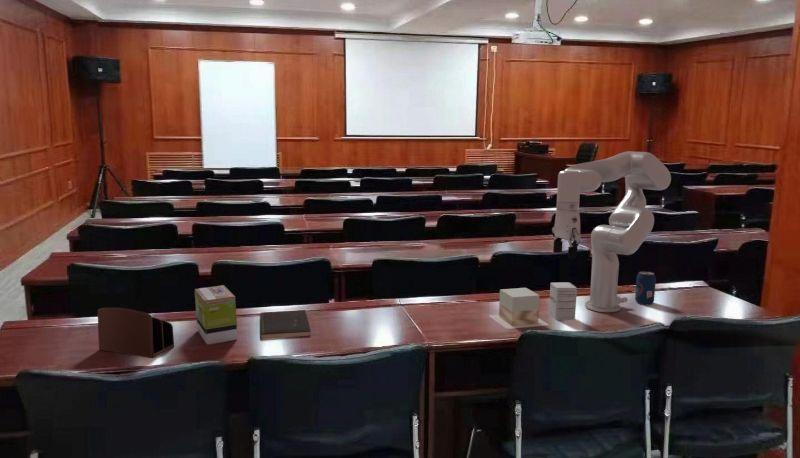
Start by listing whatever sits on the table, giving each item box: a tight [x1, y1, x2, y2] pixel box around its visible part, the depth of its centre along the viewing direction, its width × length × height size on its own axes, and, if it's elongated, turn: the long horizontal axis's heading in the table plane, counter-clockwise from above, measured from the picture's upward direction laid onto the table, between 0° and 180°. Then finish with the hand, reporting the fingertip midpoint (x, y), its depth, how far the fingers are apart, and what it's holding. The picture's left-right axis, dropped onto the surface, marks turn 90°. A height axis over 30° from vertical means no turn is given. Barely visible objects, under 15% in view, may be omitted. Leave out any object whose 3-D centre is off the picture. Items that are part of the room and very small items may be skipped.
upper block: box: [499, 287, 540, 312], centre depth 214 cm, size 10×10×5 cm
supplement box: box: [548, 281, 578, 321], centre depth 219 cm, size 7×7×13 cm
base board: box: [488, 314, 550, 330], centre depth 215 cm, size 16×15×1 cm
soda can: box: [634, 270, 657, 305], centre depth 239 cm, size 7×7×12 cm
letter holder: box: [97, 307, 175, 359], centre depth 187 cm, size 10×20×14 cm, turn 72°
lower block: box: [498, 303, 540, 326], centre depth 214 cm, size 10×10×5 cm
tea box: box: [194, 284, 238, 345], centre depth 199 cm, size 15×10×15 cm
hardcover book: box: [259, 309, 312, 340], centre depth 210 cm, size 16×23×2 cm
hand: (564, 255), depth 216 cm, fingers open, 9 cm apart
